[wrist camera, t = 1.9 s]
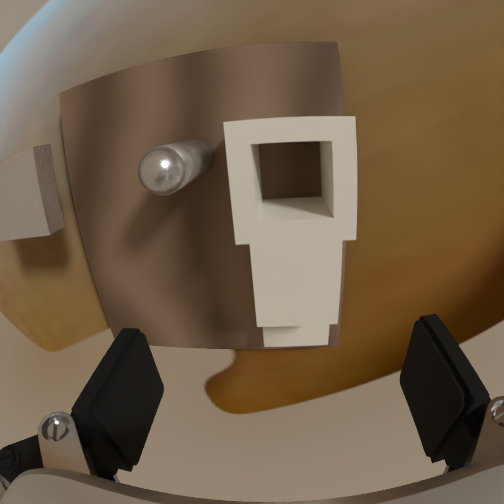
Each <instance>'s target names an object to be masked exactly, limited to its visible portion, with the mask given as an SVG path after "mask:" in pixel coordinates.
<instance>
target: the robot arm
mask: <svg viewBox="0 0 504 504" xmlns="http://www.w3.org/2000/svg"><path fill="white" fill-rule="evenodd" d="M400 385H401V388H402V390H403V393H404V395H405V398H406V400H407V403H408V406H409V409H410V411H411V414H412V417H413V419H414V422H415V425H416V428H417V430H418V434H419V437H420V440H421V442H422V446H423V449H424V452H425V454H426V456H428V457H430V458H431V461H432V463H434V462H438V461H441V460H444V459H445V462H446V465H447V466H446V468H445V471H444V473H443V474H442V475H439V476H436V477H433V478H429V479H426V480H422V481H419V482H415V483H411V484H407V485H403V486H400V487H396V488H392V489H387V490H382V491H377V492H372V493H366V494H361V495H354V496H348V497H340V498H332V499H323V500H312V501H296V502H238V501H224V500H211V499H203V498H194V497H187V496H180V495H174V494H168V493H163V492H158V491H153V490H148V489H143V488H139V487H134V486H130V485H126V484H122V483H120V482H119V480H118V478H117V476H116V473H117V471H118V469H122V470H126V471H130V472H131V471H132V468H133V465H137V464H138V462H139V459H140V456H141V453H142V451H143V448H144V445H145V442H146V439H147V436H148V433H149V431H150V428H151V425H152V423H153V420H154V417H155V415H156V412H157V409H158V406H159V404H160V401H161V398H162V395H163V392H164V386H163V383H162V380H161V378H160V375H159V372H158V370H157V367H156V364H155V362H154V359H153V356H152V353H151V350H150V347H149V345H148V342H147V339H146V336H145V334H144V333H141V331H140V330H139V329H138V328H123V329H122V330H121V331H120V333H119V334H118V336H117V337H116V339H115V340H114V342H113V343H112V345H111V346H110V348H109V350H108V351H107V353H106V354H105V356H104V357H103V359H102V360H101V362H100V363H99V365H98V367H97V368H96V370H95V371H94V373H93V374H92V376H91V378H90V379H89V381H88V383H87V384H86V386H85V387H84V389H83V391H82V392H81V394H80V396H79V397H78V399H77V401H76V402H75V404H74V406H73V407H72V412H71V414H70V415H69V414H68V413H65V412H53V413H51V414H48V415H47V416H46V417H44V418H43V419H42V421H41V422H40V424H39V426H38V434H37V435H35V436H32V437H30V438H27V439H24V440H22V441H19V442H16V443H13V444H11V445H8V446H6V447H4V448H2V449H1V450H0V504H504V396H500V397H496V398H494V399H493V400H491V399H490V397H489V393H488V391H487V390H486V388H485V386H484V385H483V383H482V381H481V380H480V378H479V377H478V375H477V373H476V372H475V370H474V368H473V367H472V366H471V364H470V362H469V361H468V359H467V357H466V356H465V354H464V353H463V351H462V350H461V348H460V347H459V345H458V344H457V342H456V341H455V340H454V338H453V337H452V335H451V334H450V332H449V331H448V329H447V328H446V327H445V325H444V324H443V322H442V321H441V320H440V318H439V317H438V316H437V315H436V314H432V315H425V316H421V317H420V318H419V321H416V322H415V324H414V328H413V332H412V336H411V340H410V344H409V347H408V351H407V354H406V358H405V361H404V365H403V368H402V371H401V374H400Z"/></svg>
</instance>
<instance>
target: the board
mask: <svg viewBox="0 0 504 504" xmlns="http://www.w3.org/2000/svg"><path fill="white" fill-rule="evenodd" d="M60 108H61V121H62V131H63V140H64V148H65V155H66V162H67V169H68V175H69V181H70V186H71V191H72V197H73V202H74V206H75V211H76V216H77V220H78V224H79V228H80V233H81V237H82V240H83V244H84V248H85V252H86V255H87V259H88V262H89V266H90V269H91V273H92V276H93V279H94V282H95V285H96V289H97V292H98V295H99V298H100V301H101V303H102V306H103V309H104V312H105V315H106V317H107V320H108V323H109V326H110V328H111V331H112V333H113V336H114V338H115V339H116V337H117V336H118V334H119V333H120V331H121V330H122V329H123V328H138V329H139V330H140V331H141V333H144V334H145V336H146V339H147V342H148V345H154V346H168V347H185V348H209V349H294V348H317V347H335V346H338V345H339V336H340V326H341V315H342V303H343V290H344V274H345V255H346V240H343V243H342V268H341V286H340V301H339V314H338V324H330V325H329V338H328V345H315V346H289V347H264V338H263V327H257V321H256V310H255V299H254V288H253V277H252V266H251V255H250V244H240V245H236V243H235V234H234V225H233V215H232V206H231V196H230V186H229V176H228V166H227V156H226V146H225V135H224V125H223V122H229V121H239V120H250V119H264V118H280V117H306V116H344V104H343V92H342V81H341V70H340V61H339V53H338V45H337V42H281V43H265V44H253V45H243V46H234V47H226V48H219V49H212V50H206V51H200V52H195V53H189V54H184V55H179V56H175V57H170V58H166V59H161V60H157V61H153V62H149V63H146V64H142V65H138V66H135V67H131V68H128V69H124V70H121V71H118V72H115V73H112V74H109V75H106V76H103V77H100V78H97V79H94V80H92V81H89V82H86V83H84V84H81V85H78V86H76V87H73V88H71V89H68V90H66V91H64V92H61V93H60ZM196 139H197V140H202V141H205V142H206V143H208V144H209V145H210V146H211V148H212V150H213V153H214V162H213V165H212V167H211V168H210V170H209V171H207V172H206V173H204V174H203V175H201V176H200V177H198V178H196V179H195V180H193V181H192V182H190V183H189V184H187V185H185V186H184V187H182V188H181V189H179V190H178V191H176V192H175V193H173V194H170V195H166V196H161V195H156V194H153V193H151V192H149V191H147V190H146V189H145V188H144V187H143V185H142V184H141V182H140V180H139V176H138V168H139V164H140V161H141V160H142V158H143V156H144V155H145V153H146V152H147V151H149V150H150V149H152V148H153V147H156V146H160V145H166V144H171V143H177V142H183V141H189V140H196ZM258 146H259V159H260V171H261V184H262V197H263V199H278V198H302V197H322V188H321V160H320V141H301V142H278V143H261V144H258Z"/></svg>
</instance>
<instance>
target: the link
mask: <svg viewBox="0 0 504 504" xmlns="http://www.w3.org/2000/svg"><path fill="white" fill-rule="evenodd" d="M223 125H224V135H225V146H226V156H227V166H228V176H229V186H230V196H231V206H232V215H233V225H234V234H235V243H236V245H240V244H250V255H251V266H252V277H253V288H254V299H255V310H256V321H257V327H263V338H264V347H289V346H315V345H328V338H329V325H330V324H338V314H339V301H340V286H341V268H342V243H343V240H356V226H357V145H356V123H355V117H353V116H306V117H280V118H264V119H250V120H239V121H229V122H223ZM301 141H320V160H321V188H322V197H302V198H278V199H263V197H262V184H261V171H260V159H259V146H258V144H261V143H278V142H301Z"/></svg>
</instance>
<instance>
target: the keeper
mask: <svg viewBox="0 0 504 504" xmlns="http://www.w3.org/2000/svg"><path fill="white" fill-rule="evenodd" d="M63 227H65V223H64V219H63V215H62V210H61V206H60V201H59V196H58V191H57V186H56V180H55V174H54V168H53V162H52V155H51V147H50V144H46V145H41V146H36V147H32V148H30V149H27V150H25V151H22V152H20V153H17V154H15V155H13V156H10V157H8V158H6V159H4V160H1V161H0V241H7V240H15V239H23V238H31V237H40V236H49V235H52V234H53V233H55V232H57V231H58V230H60V229H62V228H63Z"/></svg>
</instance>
